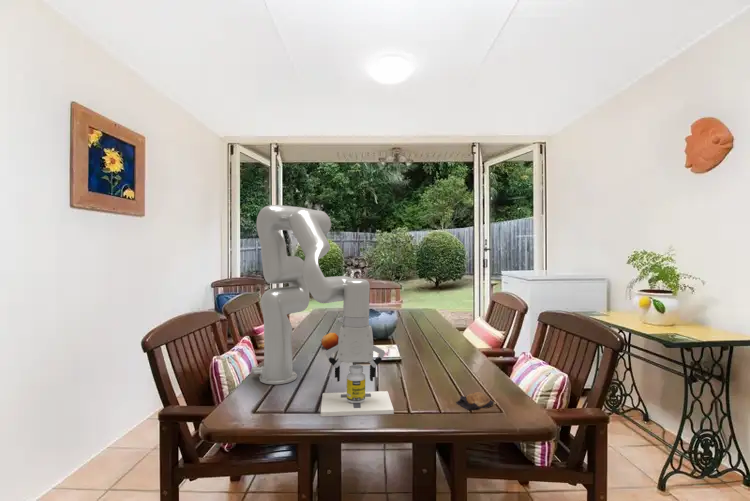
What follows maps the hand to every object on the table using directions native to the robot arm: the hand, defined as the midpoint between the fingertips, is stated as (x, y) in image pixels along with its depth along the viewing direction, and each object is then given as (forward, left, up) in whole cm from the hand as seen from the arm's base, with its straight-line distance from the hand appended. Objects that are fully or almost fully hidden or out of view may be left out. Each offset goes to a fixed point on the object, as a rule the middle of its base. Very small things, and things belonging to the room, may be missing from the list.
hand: (354, 379), depth 117 cm
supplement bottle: (0, 0, -6) cm, 6 cm away
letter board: (0, 0, -7) cm, 7 cm away
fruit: (-9, +65, -8) cm, 66 cm away
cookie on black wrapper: (+36, -2, -8) cm, 37 cm away
